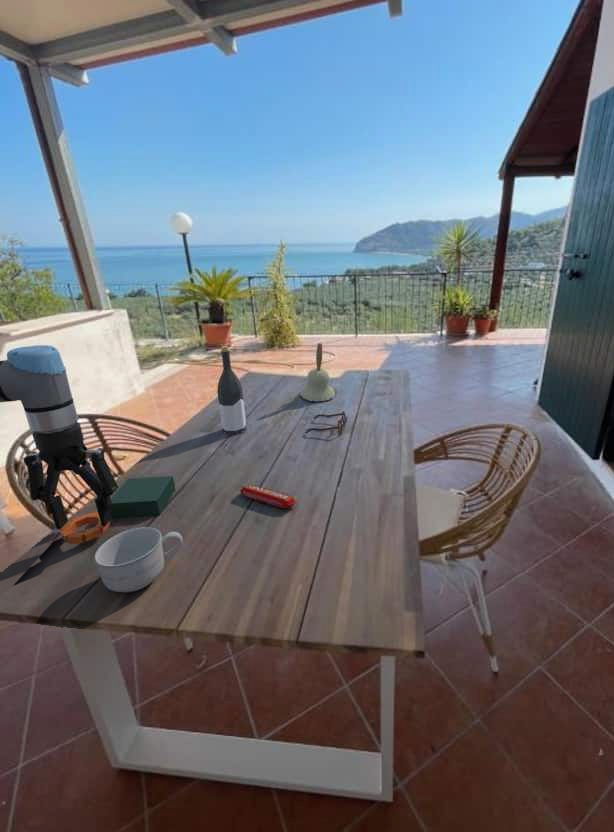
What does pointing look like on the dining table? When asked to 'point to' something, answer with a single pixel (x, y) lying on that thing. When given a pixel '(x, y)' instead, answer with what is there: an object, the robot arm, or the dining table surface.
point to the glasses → (331, 427)
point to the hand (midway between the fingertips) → (84, 523)
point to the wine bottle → (230, 398)
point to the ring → (87, 535)
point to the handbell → (317, 382)
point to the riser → (142, 497)
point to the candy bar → (268, 496)
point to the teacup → (134, 558)
